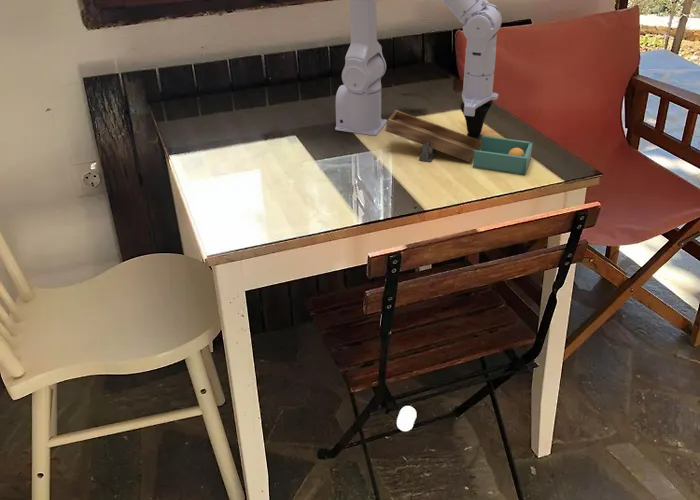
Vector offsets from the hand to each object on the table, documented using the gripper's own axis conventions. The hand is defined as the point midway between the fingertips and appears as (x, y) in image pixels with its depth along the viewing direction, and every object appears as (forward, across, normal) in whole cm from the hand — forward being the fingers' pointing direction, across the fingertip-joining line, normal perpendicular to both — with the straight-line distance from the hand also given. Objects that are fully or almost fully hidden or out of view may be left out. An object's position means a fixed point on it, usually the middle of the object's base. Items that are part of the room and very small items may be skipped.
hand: (474, 135), depth 147 cm
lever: (0, -3, +8) cm, 8 cm away
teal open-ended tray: (+2, -6, -7) cm, 9 cm away
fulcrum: (+2, -6, +8) cm, 10 cm away
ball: (0, -6, -10) cm, 11 cm away
